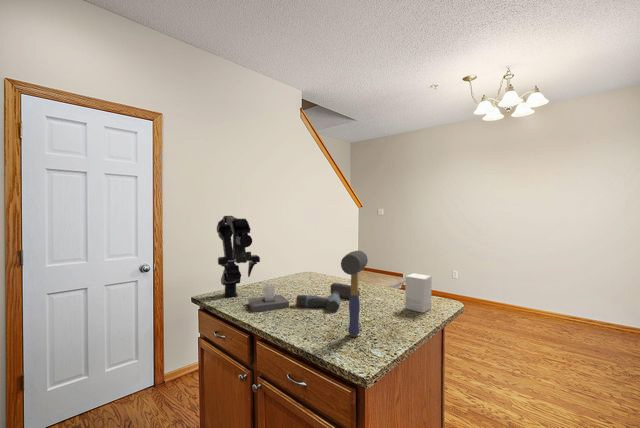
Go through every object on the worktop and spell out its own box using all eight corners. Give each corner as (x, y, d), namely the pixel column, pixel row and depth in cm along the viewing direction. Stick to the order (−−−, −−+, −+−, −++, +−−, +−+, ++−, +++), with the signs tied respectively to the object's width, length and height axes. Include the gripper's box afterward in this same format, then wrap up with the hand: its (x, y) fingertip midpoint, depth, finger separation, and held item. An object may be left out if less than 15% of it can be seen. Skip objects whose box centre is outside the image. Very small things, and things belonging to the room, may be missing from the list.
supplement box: (431, 308, 133) (432, 275, 133) (423, 313, 126) (424, 279, 126) (413, 303, 139) (413, 272, 139) (404, 308, 132) (404, 275, 132)
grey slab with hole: (248, 303, 136) (248, 298, 136) (281, 299, 143) (281, 294, 143) (253, 312, 125) (253, 306, 125) (289, 307, 132) (289, 301, 132)
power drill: (302, 297, 148) (341, 299, 145) (294, 310, 129) (339, 313, 127) (302, 287, 148) (341, 289, 145) (294, 298, 129) (339, 301, 127)
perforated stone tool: (360, 298, 147) (361, 284, 147) (358, 301, 142) (358, 287, 142) (333, 294, 153) (333, 281, 153) (329, 297, 148) (329, 283, 148)
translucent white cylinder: (263, 304, 135) (263, 285, 135) (271, 303, 137) (271, 284, 137) (265, 307, 132) (265, 287, 131) (273, 306, 133) (273, 286, 133)
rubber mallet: (348, 327, 111) (349, 248, 110) (368, 330, 108) (369, 249, 107) (338, 340, 99) (339, 253, 99) (359, 344, 96) (360, 254, 96)
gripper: (220, 248, 126) (219, 283, 126) (262, 246, 134) (262, 279, 134) (217, 245, 136) (217, 278, 136) (257, 243, 144) (257, 274, 144)
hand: (238, 277), depth 137 cm, fingers open, 9 cm apart
